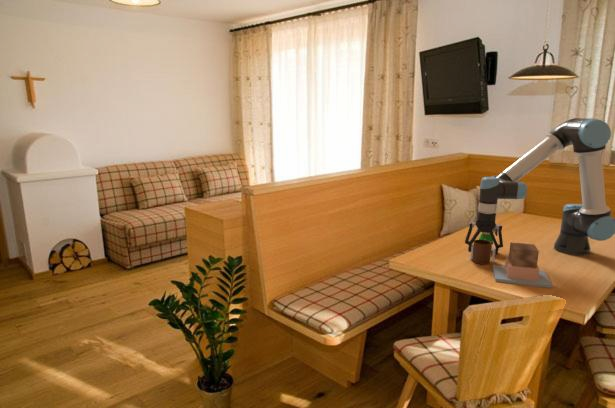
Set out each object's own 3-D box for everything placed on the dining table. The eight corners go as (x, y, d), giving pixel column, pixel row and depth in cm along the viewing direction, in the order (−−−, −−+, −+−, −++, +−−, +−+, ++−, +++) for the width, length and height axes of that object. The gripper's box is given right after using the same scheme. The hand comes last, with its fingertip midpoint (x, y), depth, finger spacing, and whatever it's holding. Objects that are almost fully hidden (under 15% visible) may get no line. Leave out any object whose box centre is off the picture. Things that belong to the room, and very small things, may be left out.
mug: (476, 255, 202) (478, 236, 200) (493, 258, 198) (495, 238, 196) (470, 262, 192) (472, 242, 190) (488, 266, 188) (490, 245, 186)
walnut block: (532, 260, 177) (534, 244, 176) (536, 268, 169) (538, 251, 167) (508, 258, 180) (510, 242, 178) (511, 265, 171) (513, 248, 170)
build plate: (544, 273, 180) (546, 259, 178) (551, 288, 165) (553, 273, 164) (492, 267, 186) (494, 253, 185) (495, 281, 172) (497, 266, 170)
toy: (496, 253, 205) (499, 222, 201) (477, 251, 206) (480, 221, 203) (492, 247, 213) (495, 218, 210) (473, 246, 215) (476, 217, 212)
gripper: (512, 212, 190) (506, 260, 195) (461, 208, 197) (457, 254, 202) (514, 215, 183) (508, 265, 188) (461, 211, 190) (457, 259, 195)
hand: (482, 259), depth 195 cm, fingers open, 9 cm apart
